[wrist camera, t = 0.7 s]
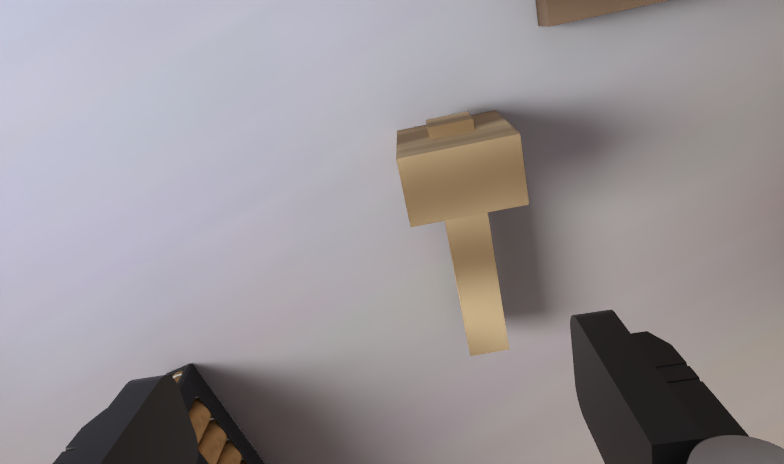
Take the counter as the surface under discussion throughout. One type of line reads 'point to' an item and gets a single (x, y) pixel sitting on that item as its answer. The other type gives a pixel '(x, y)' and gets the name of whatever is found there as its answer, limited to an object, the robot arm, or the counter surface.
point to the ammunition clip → (212, 422)
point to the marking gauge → (466, 205)
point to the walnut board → (581, 9)
